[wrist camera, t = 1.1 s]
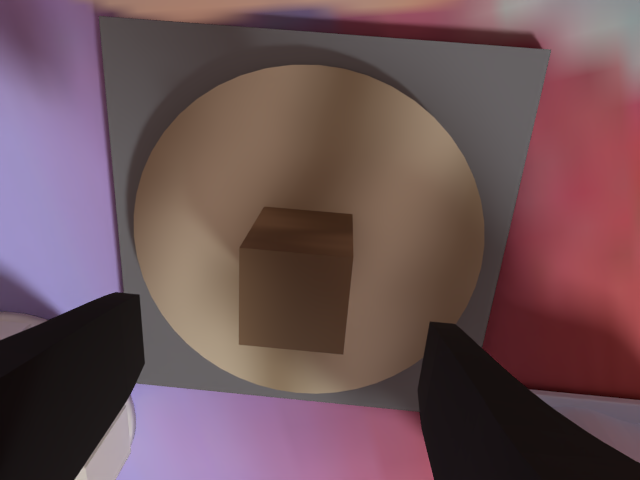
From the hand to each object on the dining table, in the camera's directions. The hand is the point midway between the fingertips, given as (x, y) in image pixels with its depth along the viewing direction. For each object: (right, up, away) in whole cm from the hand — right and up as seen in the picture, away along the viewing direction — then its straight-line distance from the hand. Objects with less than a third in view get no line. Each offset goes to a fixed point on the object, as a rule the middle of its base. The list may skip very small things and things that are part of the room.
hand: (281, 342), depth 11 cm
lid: (+1, +2, +7) cm, 7 cm away
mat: (+1, +3, +7) cm, 8 cm away
